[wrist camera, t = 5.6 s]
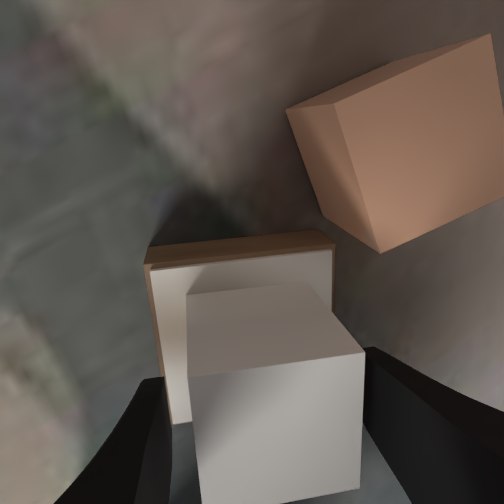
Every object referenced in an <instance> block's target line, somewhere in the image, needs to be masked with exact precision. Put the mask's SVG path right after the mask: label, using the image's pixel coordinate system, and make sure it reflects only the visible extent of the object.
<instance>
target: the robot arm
mask: <svg viewBox="0 0 504 504" xmlns="http://www.w3.org/2000/svg"><path fill="white" fill-rule="evenodd" d="M362 349H363V350H364V351H365V372H364V396H363V419H362V421H363V423H364V425H365V427H366V429H367V431H368V433H369V434H370V436H371V438H372V439H373V441H374V442H375V444H376V446H377V447H378V449H379V451H380V452H381V454H382V455H383V457H384V459H385V460H386V462H387V463H388V465H389V467H390V468H391V470H392V471H393V473H394V475H395V476H396V478H397V479H398V481H399V483H400V484H401V486H402V487H403V489H404V491H405V492H406V494H407V496H408V497H409V499H410V501H411V503H412V504H504V412H503V411H500V410H498V409H495V408H493V407H490V406H488V405H486V404H483V403H481V402H478V401H476V400H474V399H472V398H469V397H467V396H465V395H463V394H461V393H459V392H457V391H455V390H453V389H451V388H449V387H447V386H445V385H443V384H441V383H439V382H437V381H435V380H433V379H431V378H430V377H428V376H426V375H424V374H422V373H420V372H419V371H417V370H415V369H413V368H412V367H410V366H408V365H406V364H405V363H403V362H401V361H399V360H398V359H396V358H394V357H392V356H391V355H389V354H387V353H385V352H383V351H381V350H380V349H378V348H376V347H367V348H362ZM171 471H172V428H171V421H170V414H169V406H168V399H167V392H166V385H165V378H164V376H163V377H156V378H149V379H144V380H143V381H142V382H141V383H140V385H139V387H138V389H137V391H136V393H135V395H134V396H133V398H132V400H131V402H130V404H129V405H128V407H127V409H126V410H125V412H124V414H123V415H122V417H121V418H120V420H119V422H118V423H117V425H116V426H115V428H114V429H113V431H112V432H111V434H110V435H109V437H108V438H107V439H106V441H105V442H104V444H103V445H102V446H101V448H100V449H99V451H98V452H97V453H96V455H95V456H94V457H93V459H92V460H91V461H90V463H89V464H88V465H87V466H86V468H85V469H84V470H83V471H82V472H81V474H80V475H79V476H78V477H77V478H76V480H75V481H74V482H73V483H72V484H71V485H70V486H69V488H68V489H67V490H66V491H65V492H64V493H63V494H62V495H61V496H60V497H59V498H58V499H57V501H56V502H55V503H54V504H168V502H169V492H170V482H171Z"/></svg>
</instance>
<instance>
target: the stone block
mask: <svg viewBox="0 0 504 504" xmlns="http://www.w3.org/2000/svg"><path fill="white" fill-rule="evenodd" d="M186 336H187V379H188V387H189V396H190V404H191V413H192V422H193V430H194V439H195V447H196V456H197V465H198V473H199V482H200V490H201V499H202V504H281V503H287V502H292V501H297V500H302V499H307V498H312V497H317V496H322V495H327V494H333V493H338V492H343V491H348V490H353V489H358V488H360V466H361V442H362V419H363V396H364V372H365V351H364V350H363V349H362V348H361V346H360V345H359V344H358V343H357V342H356V340H355V339H354V338H353V337H352V336H351V334H350V333H349V332H348V331H347V330H346V328H345V327H344V326H343V325H342V324H341V322H340V321H339V320H338V319H337V317H336V316H335V315H334V314H333V313H332V311H331V310H330V309H329V308H328V307H327V305H326V304H325V303H324V302H323V301H322V299H321V298H320V297H319V296H318V295H317V293H316V292H315V291H314V290H313V288H312V287H311V286H310V285H309V284H308V282H298V283H289V284H280V285H271V286H263V287H254V288H245V289H236V290H227V291H218V292H209V293H201V294H192V295H186Z"/></svg>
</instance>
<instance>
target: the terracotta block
mask: <svg viewBox="0 0 504 504" xmlns="http://www.w3.org/2000/svg"><path fill="white" fill-rule="evenodd" d="M285 111H286V114H287V117H288V119H289V122H290V125H291V128H292V131H293V133H294V136H295V139H296V142H297V144H298V147H299V150H300V153H301V156H302V158H303V161H304V164H305V167H306V170H307V172H308V175H309V178H310V181H311V184H312V186H313V189H314V192H315V195H316V198H317V200H318V203H319V206H320V209H321V212H322V214H323V216H324V217H325V218H327V219H328V220H330V221H331V222H333V223H334V224H336V225H337V226H339V227H340V228H342V229H343V230H345V231H346V232H348V233H349V234H351V235H352V236H354V237H355V238H357V239H359V240H360V241H362V242H363V243H365V244H366V245H368V246H369V247H371V248H372V249H374V250H375V251H377V252H378V253H380V254H382V253H384V252H386V251H388V250H390V249H392V248H395V247H397V246H399V245H401V244H403V243H405V242H408V241H410V240H412V239H414V238H416V237H418V236H421V235H423V234H425V233H427V232H429V231H431V230H433V229H436V228H438V227H440V226H442V225H444V224H446V223H449V222H451V221H453V220H455V219H457V218H459V217H462V216H464V215H466V214H468V213H470V212H472V211H475V210H477V209H479V208H481V207H483V206H485V205H487V204H490V203H492V202H494V201H496V200H498V199H500V198H503V197H504V113H503V107H502V101H501V94H500V88H499V82H498V75H497V69H496V63H495V57H494V50H493V44H492V38H491V33H489V34H486V35H482V36H479V37H476V38H472V39H469V40H465V41H462V42H458V43H455V44H451V45H448V46H444V47H441V48H437V49H434V50H430V51H427V52H423V53H420V54H416V55H413V56H409V57H406V58H403V59H399V60H396V61H392V62H390V63H388V64H386V65H384V66H381V67H379V68H377V69H375V70H372V71H370V72H368V73H366V74H363V75H361V76H359V77H357V78H354V79H352V80H350V81H348V82H346V83H343V84H341V85H339V86H337V87H334V88H332V89H330V90H328V91H325V92H323V93H321V94H319V95H317V96H314V97H312V98H310V99H308V100H305V101H303V102H301V103H299V104H296V105H294V106H292V107H290V108H288V109H285Z"/></svg>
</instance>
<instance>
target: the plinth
mask: <svg viewBox="0 0 504 504" xmlns="http://www.w3.org/2000/svg"><path fill="white" fill-rule="evenodd" d="M143 265H144V272H145V278H146V284H147V291H148V297H149V303H150V310H151V316H152V323H153V329H154V335H155V342H156V348H157V354H158V361H159V367H160V373H161V377H163V376H164V378H165V385H166V392H167V399H168V406H169V414H170V421H171V425H176V424H182V423H188V422H192V413H191V404H190V396H189V387H188V379H187V336H186V295H192V294H201V293H209V292H218V291H227V290H236V289H245V288H254V287H263V286H271V285H280V284H289V283H298V282H308V284H309V285H310V286H311V287H312V288H313V290H314V291H315V292H316V293H317V295H318V296H319V297H320V298H321V299H322V301H323V302H324V303H325V304H326V305H327V307H328V308H329V309H330V310H331V311H332V313H333V314H334V313H335V243H334V242H333V241H332V240H330V239H329V238H328V237H327V236H325V235H324V234H323V233H322V232H320V231H319V230H318V229H314V230H305V231H295V232H286V233H276V234H267V235H257V236H247V237H238V238H228V239H219V240H209V241H200V242H190V243H181V244H171V245H162V246H152V247H148V249H147V253H146V256H145V260H144V264H143Z"/></svg>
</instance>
